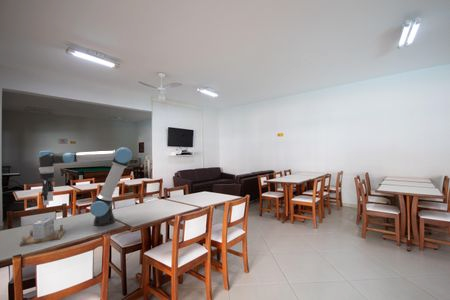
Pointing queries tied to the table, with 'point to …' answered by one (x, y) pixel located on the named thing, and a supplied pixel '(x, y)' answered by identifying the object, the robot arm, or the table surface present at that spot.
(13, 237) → the table surface
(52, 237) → the dowel base
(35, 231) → the light bulb box
